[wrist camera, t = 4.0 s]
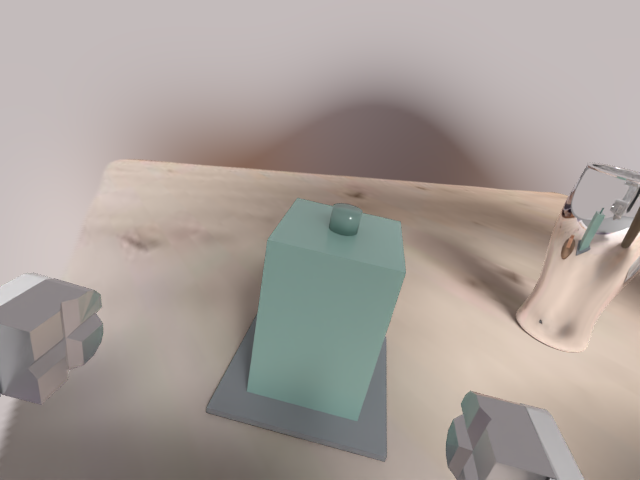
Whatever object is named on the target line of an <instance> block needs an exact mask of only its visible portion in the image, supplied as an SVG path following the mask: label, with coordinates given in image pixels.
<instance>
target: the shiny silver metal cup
mask: <svg viewBox="0 0 640 480" xmlns="http://www.w3.org/2000/svg"><path fill="white" fill-rule="evenodd" d="M639 272H640V172H637V171H633V170H629V169H625V168H620V167H616V166H611V165H606V164H600V163H588V164H587V166H586V168H585V170H584V172H583V173H582V175H581V177H580V178H579V180H578V182H577V183H576V185H575V186H574V188H573V190H572V191H571V193H570V195H569V196H568V198H567V200H566V202H565V204H564V206H563V208H562V209H561V212H560V214H559V216H558V218H557V221H556V223H555V225H554V228H553V231H552V234H551V237H550V241H549V244H548V248H547V251H546V255H545V259H544V263H543V267H542V270H541V273H540V277H539V279H538V281H537V284H536V286H535V287H534V289H533V291H532V293H531V294H530V295H529V297H528V298H527V299H526V300H525V302H524V303H523V304H522V305H521V306H520V308H519V309H518V311H517V312H516V320H517V322H518V323H519V325H520V326H521V327H522V328H523V329H524V330H525V331H526V332H527V333H528V334H529V335H531V336H532V337H534V338H535V339H537V340H538V341H540V342H542V343H544V344H546V345H548V346H550V347H553V348H555V349H558V350H562V351H566V352H582V351H584V350H585V349H586V348H587V346H588V344H589V342H590V339H591V336H592V332H593V329H594V327H595V324H596V322H597V320H598V318H599V316H600V315H601V313H602V312H603V310H604V309H605V308H606V306H607V305H608V304H609V303H610V302H611V301H612V300H613V299H614V298H615V296H616V295H617V294H618V293H619V292H620V291H621V290H622V289H623V288H624V287H625V286H626V285H627V284H628V283H629V282H630V281H631V280H632V279H633V278H634V277H635V276H636V275H637V274H638V273H639Z"/></svg>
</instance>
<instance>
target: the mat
mask: <svg viewBox="0 0 640 480" xmlns="http://www.w3.org/2000/svg"><path fill="white" fill-rule="evenodd" d="M256 321H257V315H256V317H255V318H254V320H253V322H252V324H251V326H250V328H249V330H248V331H247V333H246V335H245V337H244V339H243V341H242V343H241V344H240V346H239V348H238V350H237V352H236V354H235V356H234V357H233V359H232V361H231V363H230V365H229V367H228V369H227V370H226V372H225V374H224V376H223V378H222V380H221V382H220V383H219V385H218V387H217V389H216V391H215V393H214V395H213V396H212V398H211V400H210V402H209V404H208V406H207V409H206V412H207V413H210V414H214V415H217V416H221V417H225V418H228V419H232V420H236V421H239V422H243V423H246V424H250V425H254V426H257V427H261V428H265V429H268V430H272V431H275V432H279V433H283V434H286V435H290V436H293V437H297V438H301V439H304V440H308V441H312V442H315V443H319V444H322V445H326V446H330V447H333V448H337V449H341V450H344V451H348V452H351V453H355V454H359V455H362V456H366V457H370V458H373V459H377V460H380V461H384V462H385V460H386V457H387V435H386V337H385V338H384V341H383V344H382V347H381V350H380V353H379V356H378V359H377V363H376V366H375V369H374V372H373V375H372V378H371V381H370V384H369V387H368V390H367V393H366V396H365V399H364V402H363V405H362V408H361V411H360V415H359V418H358V421H354V420H350V419H347V418H343V417H339V416H336V415H332V414H328V413H324V412H321V411H317V410H313V409H310V408H306V407H302V406H299V405H295V404H291V403H287V402H284V401H280V400H276V399H273V398H269V397H265V396H261V395H258V394H254V393H250V392H247V387H248V379H249V372H250V365H251V357H252V350H253V343H254V335H255V328H256Z"/></svg>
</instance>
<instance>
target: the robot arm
mask: <svg viewBox="0 0 640 480" xmlns="http://www.w3.org/2000/svg"><path fill="white" fill-rule="evenodd" d="M101 307H102V303H101V294H99V293H98V292H96V291H95V290H92V289H89V288H85V287H82V286H78V285H75V284H72V283H68V282H65V281H61V280H58V279H52V278H50V277H46V276H43V275H39V274H36V273H25V274H22V275H20V276H19V277H17V278H15V279H13V280H11V281H9V282H7V283H5V284H3V285H1V286H0V394H2V395H6V396H10V397H14V398H17V399H21V400H25V401H29V402H33V403H37V404H41V405H42V404H43V403H44V402H45V401H46V400H47V399H48V398H49V397H50V396H51V395H52V394H53V393H55V392H56V391H57V390H58V389H59V388H60V387H61V386H62V385H63V384H64V383H65V382H66V381H67V380H68V375H69V370H71V369H74V368H77V367H79V366H82V365H84V364H85V363H86V362H87V361H88V360H89V359H90V358H91V357H92V356H93V355H94V354H95V352H96V350H97V348H98V347H99V345H100V343H101V340H102V336H103V323H102V321H101V320H100V318H99V317H98V316H97V314H96V313H97V312H98V311H99V310H100V309H101ZM0 396H1V395H0ZM461 407H462V411H463V414H462V415H460V416H458V417H456V418H454V419H453V421H452V423H451V426H450V428H449V430H448V435H447V441H446V458H447V464H448V468H449V469H450V471H451V472H452V473H453V475H454V476H455V478H456V479H457V480H585V479H584V477H583V475H582V474H581V472H580V470H579V468H578V466H577V464H576V462H575V460H574V458H573V456H572V454H571V452H570V450H569V448H568V446H567V444H566V442H565V440H564V438H563V436H562V434H561V432H560V430H559V428H558V426H557V424H556V422H555V420H554V418H553V417H552V415H551V414H550V413H549V412H548V411H547V410H545V409H541V408H537V407H533V406H529V405H525V404H521V403H520V404H518V403H515V402H511V401H507V400H504V399H500V398H496V397H492V396H488V395H484V394H481V393H477V392H473V391H470V392H468V393H467V394H466V395H465V397H464V399H463V401H462V403H461Z"/></svg>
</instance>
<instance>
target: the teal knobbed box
mask: <svg viewBox="0 0 640 480" xmlns="http://www.w3.org/2000/svg"><path fill="white" fill-rule="evenodd" d="M405 274H406V269H405V259H404V250H403V240H402V230H401V222H400V221H395V220H391V219H387V218H382V217H378V216H374V215H369V214H365V213H363V212H362V210H361V209H360V208H358V207H356V206H353V205H350V204H344V203H337V204H334V205H333V206H330V205H326V204H322V203H317V202H313V201H309V200H304V199H300V198H297V199H296V201H295V202H294V203H293V205H292V206H291V208H290V209H289V210H288V212H287V213H286V215H285V216H284V217H283V219H282V220H281V222H280V223H279V224H278V226H277V227H276V228H275V230H274V231H273V233H272V234H271V235H270V237H269V238H268V240H267V247H266V255H265V262H264V269H263V277H262V284H261V291H260V299H259V306H258V313H257V321H256V328H255V335H254V343H253V350H252V357H251V365H250V372H249V379H248V387H247V392H250V393H254V394H258V395H261V396H265V397H269V398H273V399H276V400H280V401H284V402H287V403H291V404H295V405H299V406H302V407H306V408H310V409H313V410H317V411H321V412H324V413H328V414H332V415H336V416H339V417H343V418H347V419H350V420H354V421H358V418H359V415H360V411H361V408H362V405H363V402H364V399H365V396H366V393H367V390H368V387H369V384H370V381H371V378H372V375H373V372H374V369H375V366H376V363H377V359H378V356H379V353H380V350H381V347H382V344H383V341H384V338H385V335H386V332H387V329H388V326H389V323H390V320H391V317H392V314H393V311H394V307H395V304H396V301H397V298H398V295H399V292H400V289H401V286H402V283H403V280H404V277H405Z"/></svg>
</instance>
